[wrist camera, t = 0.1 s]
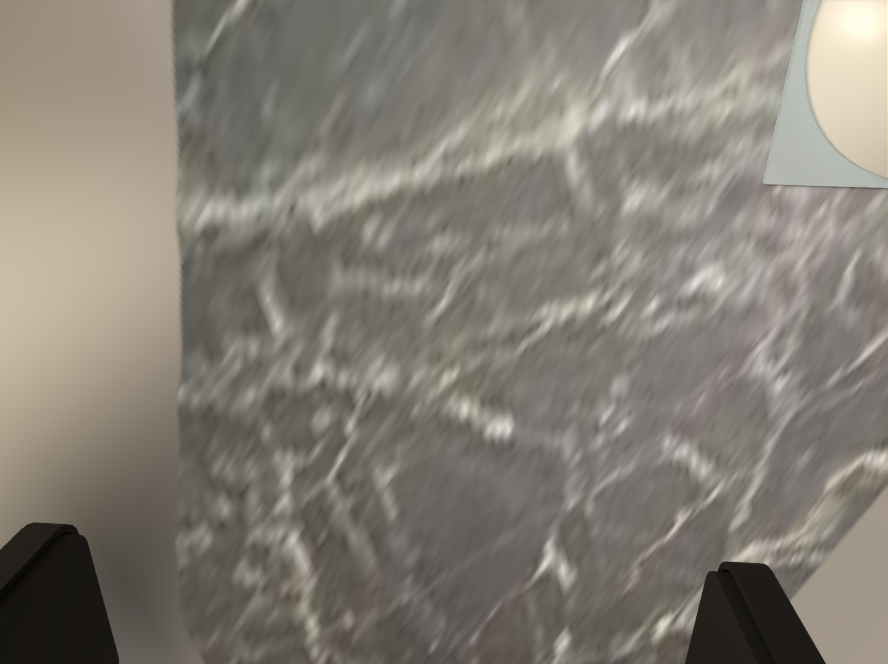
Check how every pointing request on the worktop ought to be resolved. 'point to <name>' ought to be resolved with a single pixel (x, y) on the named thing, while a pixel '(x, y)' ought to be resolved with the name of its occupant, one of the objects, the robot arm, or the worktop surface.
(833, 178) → the mat
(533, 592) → the worktop surface
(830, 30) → the lid
